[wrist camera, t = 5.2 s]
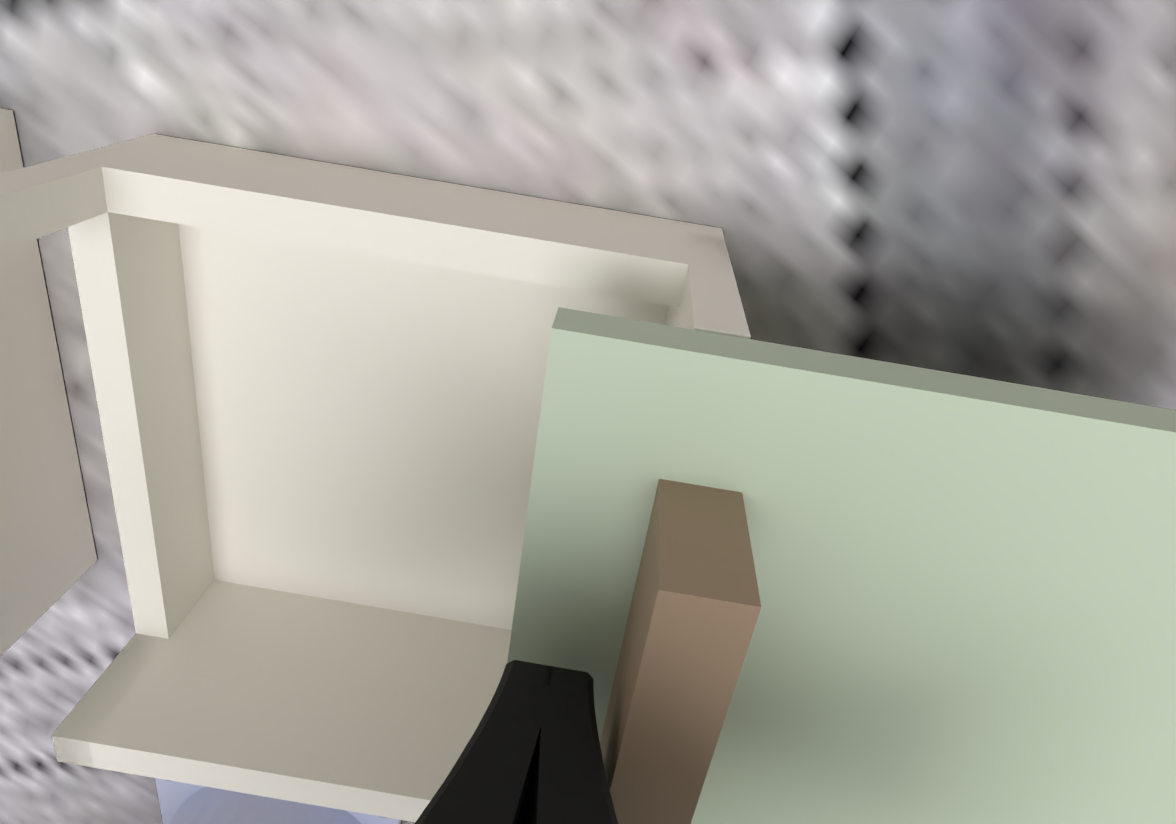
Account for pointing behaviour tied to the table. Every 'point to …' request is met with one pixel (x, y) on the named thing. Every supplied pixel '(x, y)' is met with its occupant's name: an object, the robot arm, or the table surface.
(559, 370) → the lid
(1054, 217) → the table surface
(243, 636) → the crate
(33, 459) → the crate
